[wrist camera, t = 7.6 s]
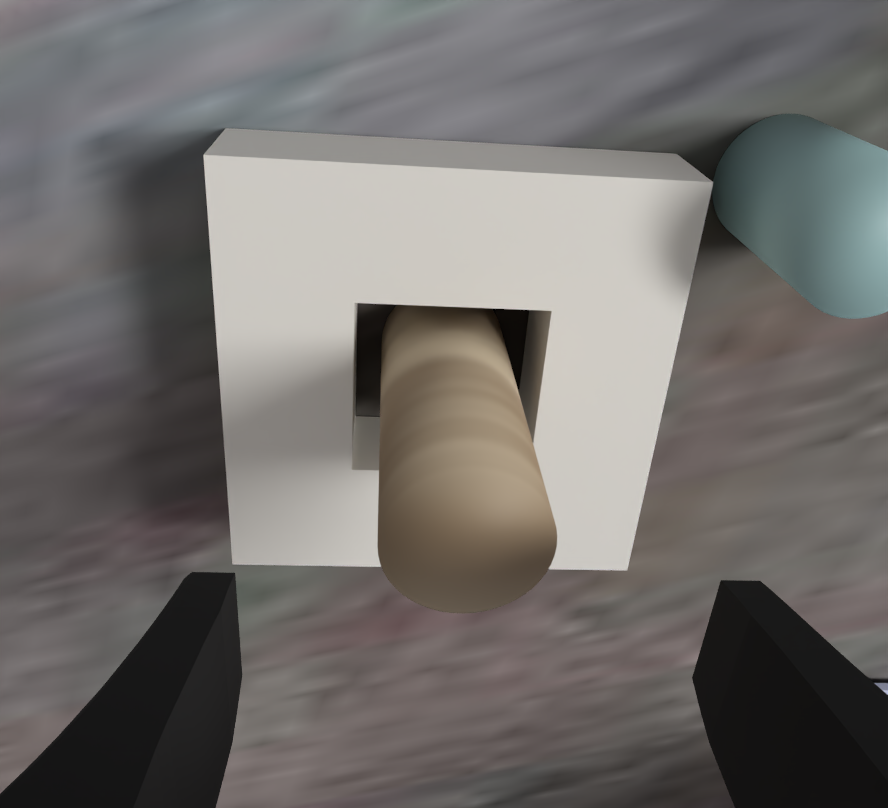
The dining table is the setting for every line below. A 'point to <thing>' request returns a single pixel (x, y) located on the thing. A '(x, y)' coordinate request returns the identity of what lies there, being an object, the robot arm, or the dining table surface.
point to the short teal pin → (810, 210)
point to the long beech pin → (457, 465)
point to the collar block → (450, 285)
